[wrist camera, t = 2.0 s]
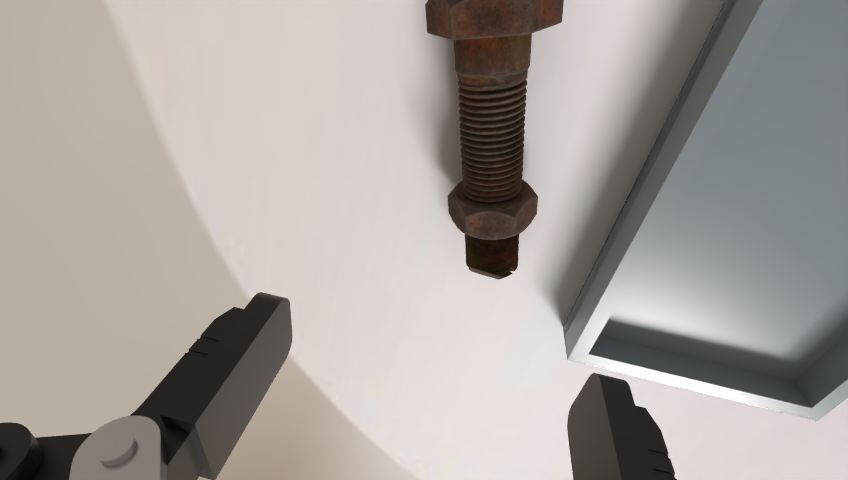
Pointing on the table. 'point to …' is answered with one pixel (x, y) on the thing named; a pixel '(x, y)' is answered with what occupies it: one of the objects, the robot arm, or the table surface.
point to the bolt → (492, 121)
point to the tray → (738, 223)
